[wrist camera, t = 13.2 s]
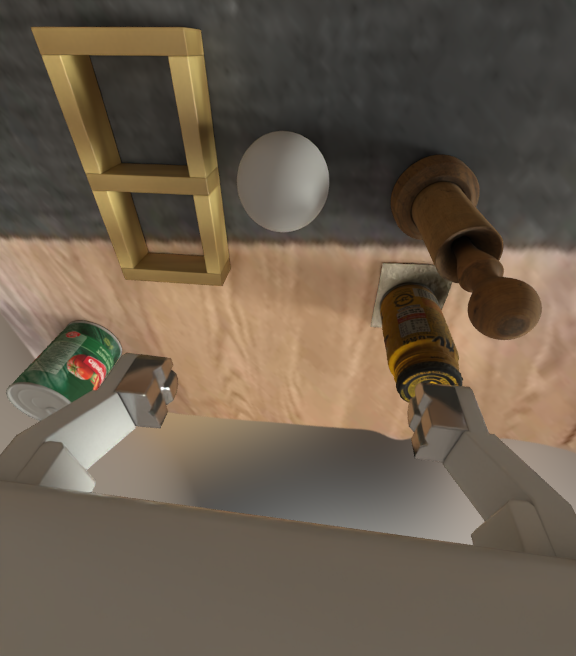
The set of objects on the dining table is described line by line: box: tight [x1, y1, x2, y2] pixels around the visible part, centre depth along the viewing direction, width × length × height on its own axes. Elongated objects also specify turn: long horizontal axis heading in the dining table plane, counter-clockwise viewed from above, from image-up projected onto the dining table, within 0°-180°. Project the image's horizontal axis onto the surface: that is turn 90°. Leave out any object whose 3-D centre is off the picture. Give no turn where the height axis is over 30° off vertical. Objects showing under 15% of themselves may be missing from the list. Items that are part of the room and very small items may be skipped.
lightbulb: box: [237, 131, 329, 232], centre depth 24 cm, size 6×6×11 cm
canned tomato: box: [6, 321, 122, 421], centre depth 42 cm, size 8×8×11 cm
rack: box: [31, 27, 231, 286], centre depth 29 cm, size 19×10×4 cm, turn 0°
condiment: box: [371, 263, 463, 403], centre depth 31 cm, size 7×8×12 cm
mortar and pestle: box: [391, 155, 542, 340], centre depth 22 cm, size 7×6×18 cm
